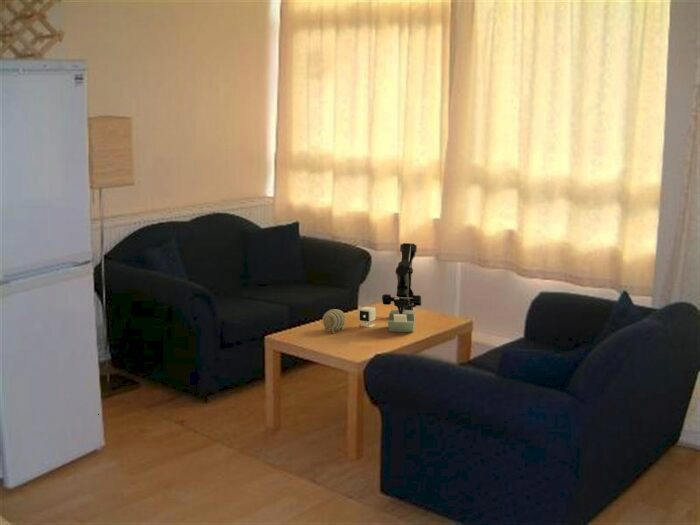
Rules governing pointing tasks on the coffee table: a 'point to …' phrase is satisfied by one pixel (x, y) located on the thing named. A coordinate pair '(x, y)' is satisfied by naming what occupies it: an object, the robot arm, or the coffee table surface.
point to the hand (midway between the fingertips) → (400, 315)
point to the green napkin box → (409, 313)
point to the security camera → (367, 316)
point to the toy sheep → (333, 320)
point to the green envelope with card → (400, 324)
